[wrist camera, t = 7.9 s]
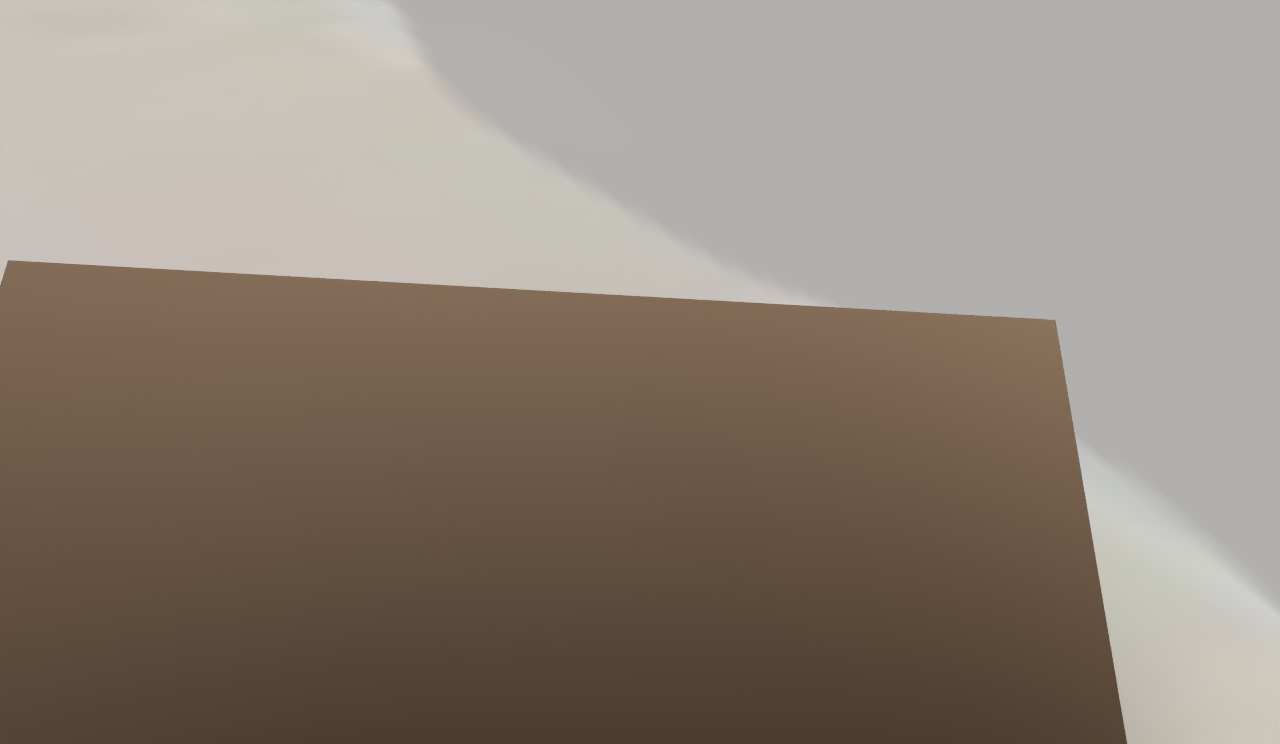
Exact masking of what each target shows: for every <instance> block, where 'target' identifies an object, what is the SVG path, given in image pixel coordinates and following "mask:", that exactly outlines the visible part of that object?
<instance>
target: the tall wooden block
mask: <svg viewBox="0 0 1280 744" xmlns="http://www.w3.org/2000/svg"><path fill="white" fill-rule="evenodd" d="M0 744H1127V741H1126V735H1125V729H1124V723H1123V717H1122V712H1121V706H1120V700H1119V694H1118V688H1117V682H1116V676H1115V670H1114V664H1113V658H1112V652H1111V647H1110V641H1109V635H1108V629H1107V623H1106V617H1105V611H1104V605H1103V599H1102V593H1101V587H1100V581H1099V576H1098V570H1097V564H1096V558H1095V552H1094V546H1093V540H1092V534H1091V528H1090V522H1089V516H1088V511H1087V505H1086V499H1085V493H1084V487H1083V481H1082V475H1081V469H1080V463H1079V457H1078V451H1077V445H1076V440H1075V434H1074V428H1073V422H1072V416H1071V410H1070V404H1069V398H1068V392H1067V387H1066V381H1065V375H1064V369H1063V363H1062V357H1061V351H1060V345H1059V339H1058V334H1057V327H1056V321H1055V320H1044V319H1027V318H1010V317H992V316H973V315H957V314H939V313H922V312H921V313H920V312H902V311H887V310H869V309H852V308H834V307H817V306H799V305H781V304H764V303H746V302H729V301H711V300H694V299H676V298H659V297H641V296H623V295H606V294H588V293H571V292H553V291H536V290H518V289H500V288H483V287H465V286H448V285H430V284H413V283H395V282H378V281H360V280H342V279H325V278H307V277H290V276H272V275H255V274H237V273H219V272H202V271H184V270H167V269H149V268H132V267H114V266H96V265H79V264H61V263H44V262H26V261H9V260H8V263H7V266H6V269H5V272H4V276H3V279H2V282H1V285H0Z"/></svg>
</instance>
